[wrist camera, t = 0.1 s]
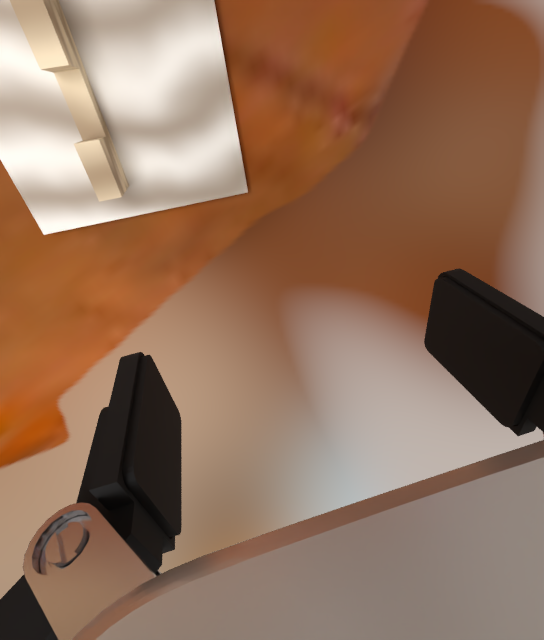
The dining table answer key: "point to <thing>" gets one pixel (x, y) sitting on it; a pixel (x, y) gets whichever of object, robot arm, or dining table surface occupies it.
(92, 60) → the white rectangular board
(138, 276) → the dining table surface
